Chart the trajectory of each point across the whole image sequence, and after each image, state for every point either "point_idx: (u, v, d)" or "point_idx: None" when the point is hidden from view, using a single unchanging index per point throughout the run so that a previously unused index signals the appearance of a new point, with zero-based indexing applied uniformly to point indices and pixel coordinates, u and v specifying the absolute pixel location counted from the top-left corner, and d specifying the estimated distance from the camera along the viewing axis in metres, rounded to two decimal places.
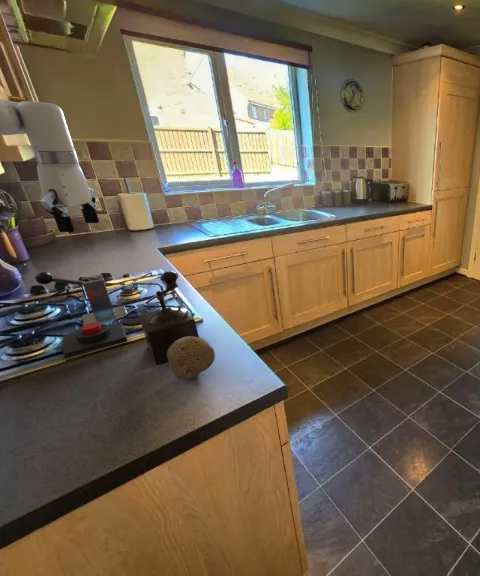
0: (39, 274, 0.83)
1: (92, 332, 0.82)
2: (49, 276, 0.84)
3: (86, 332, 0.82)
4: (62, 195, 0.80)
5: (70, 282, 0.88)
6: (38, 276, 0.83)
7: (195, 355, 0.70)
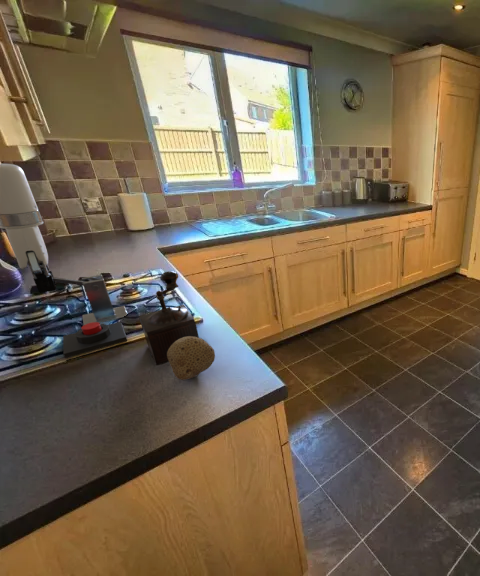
0: None
1: (92, 332, 0.82)
2: None
3: (86, 332, 0.82)
4: (41, 254, 0.79)
5: (70, 282, 0.88)
6: None
7: (195, 355, 0.70)
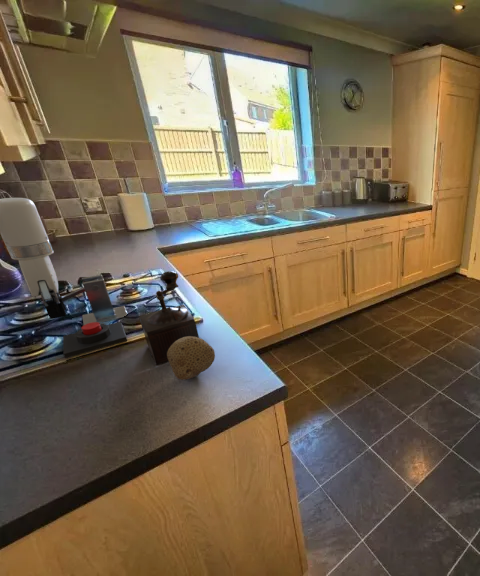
0: None
1: (92, 332, 0.82)
2: None
3: (86, 332, 0.82)
4: (52, 283, 0.82)
5: (73, 294, 0.89)
6: None
7: (195, 355, 0.70)
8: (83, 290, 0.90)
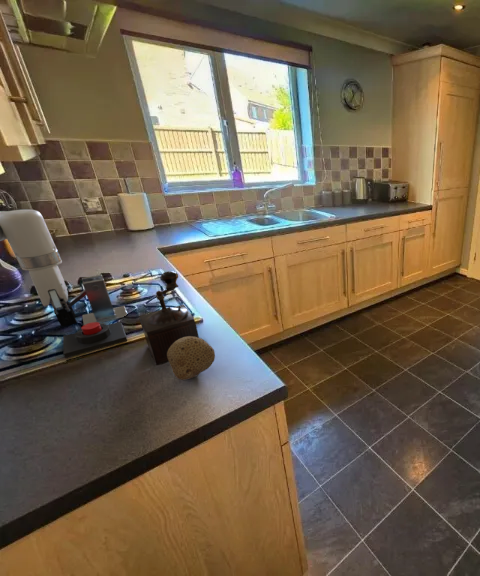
0: (54, 312, 0.88)
1: (92, 332, 0.82)
2: None
3: (86, 332, 0.82)
4: (62, 292, 0.84)
5: (78, 298, 0.90)
6: None
7: (195, 355, 0.70)
8: None
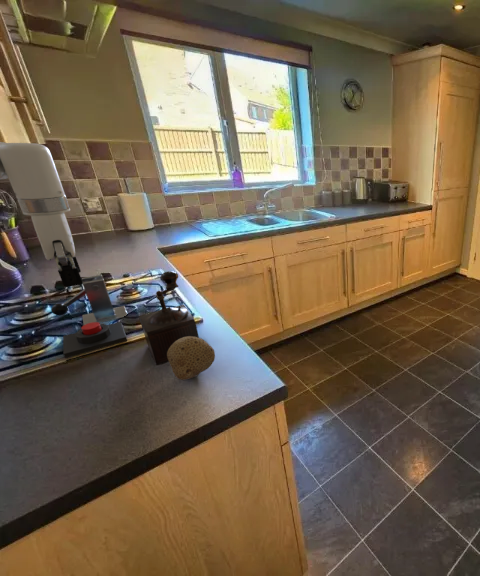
0: (52, 310, 0.87)
1: (92, 332, 0.82)
2: (59, 306, 0.88)
3: (86, 332, 0.82)
4: (69, 245, 0.72)
5: (77, 297, 0.90)
6: (53, 312, 0.87)
7: (195, 355, 0.70)
8: (85, 292, 0.91)
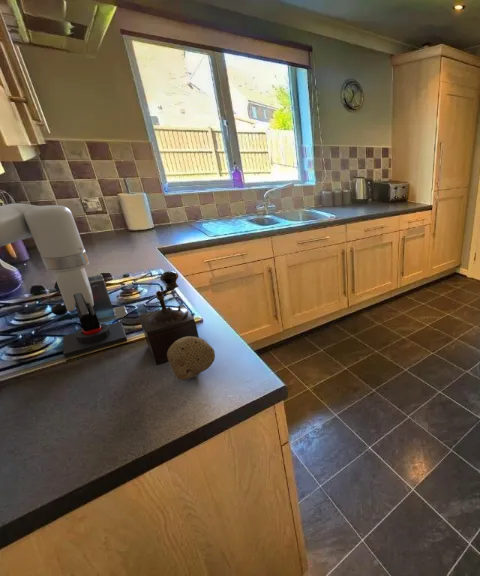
0: (52, 310, 0.87)
1: None
2: (59, 306, 0.88)
3: (87, 334, 0.82)
4: (88, 296, 0.77)
5: None
6: (53, 312, 0.87)
7: (195, 355, 0.70)
8: None
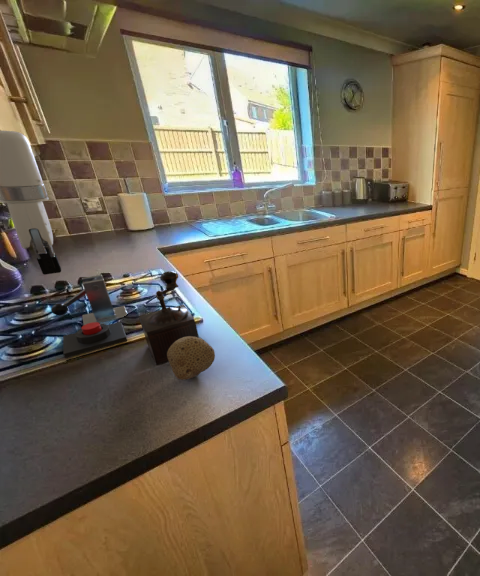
0: (52, 310, 0.87)
1: (92, 332, 0.82)
2: (59, 306, 0.88)
3: (86, 332, 0.82)
4: (46, 233, 0.72)
5: (77, 297, 0.90)
6: (53, 312, 0.87)
7: (195, 355, 0.70)
8: (85, 292, 0.91)
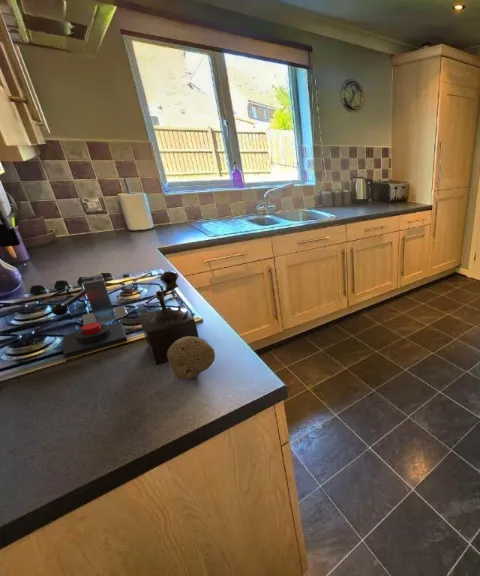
0: (52, 310, 0.87)
1: (92, 332, 0.82)
2: (59, 306, 0.88)
3: (86, 332, 0.82)
4: (0, 203, 0.71)
5: (77, 297, 0.90)
6: (53, 312, 0.87)
7: (195, 355, 0.70)
8: (85, 292, 0.91)
